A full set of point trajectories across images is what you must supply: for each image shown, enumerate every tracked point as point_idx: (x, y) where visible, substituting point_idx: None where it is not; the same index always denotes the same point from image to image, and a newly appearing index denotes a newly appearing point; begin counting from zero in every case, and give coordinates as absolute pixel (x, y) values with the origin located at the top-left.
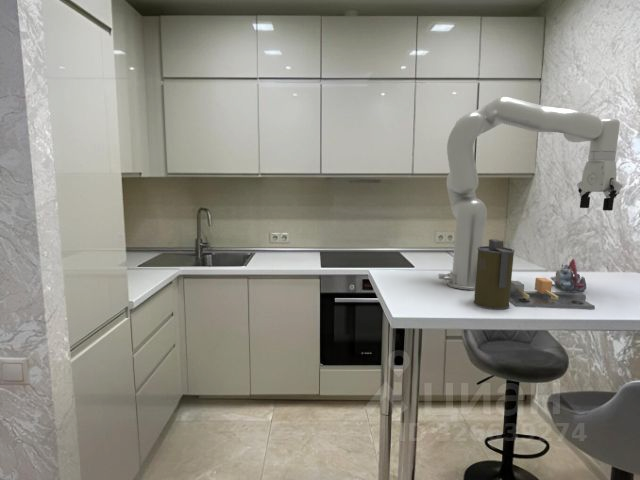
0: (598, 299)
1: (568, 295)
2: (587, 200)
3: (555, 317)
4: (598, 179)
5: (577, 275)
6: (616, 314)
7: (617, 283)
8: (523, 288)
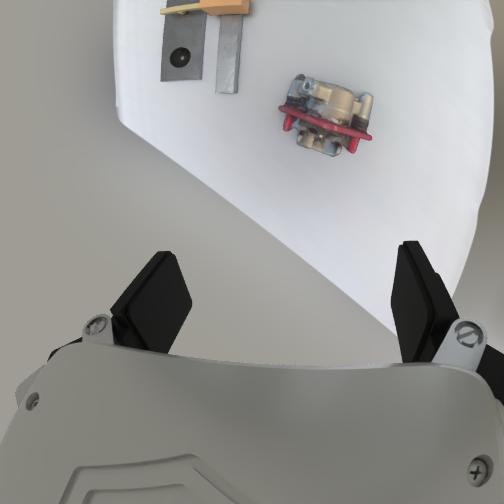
0: (235, 130)
1: (218, 55)
2: (405, 331)
3: (122, 5)
4: (34, 481)
5: (337, 148)
6: (140, 106)
7: (367, 275)
8: None
